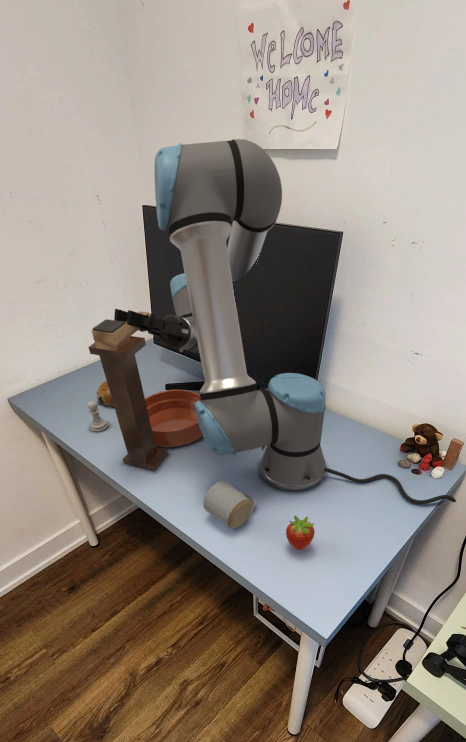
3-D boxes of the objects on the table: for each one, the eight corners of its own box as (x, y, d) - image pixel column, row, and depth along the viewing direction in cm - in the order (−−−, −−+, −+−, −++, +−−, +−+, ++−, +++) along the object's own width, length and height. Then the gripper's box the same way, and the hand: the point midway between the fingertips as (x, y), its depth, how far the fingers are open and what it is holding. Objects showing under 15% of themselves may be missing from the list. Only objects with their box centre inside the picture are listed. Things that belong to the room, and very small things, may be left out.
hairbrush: (155, 321, 92) (152, 302, 89) (117, 351, 82) (112, 331, 80) (136, 318, 94) (132, 300, 91) (96, 348, 84) (90, 328, 81)
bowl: (222, 413, 120) (220, 396, 116) (190, 455, 107) (187, 438, 103) (160, 401, 126) (157, 384, 122) (123, 440, 113) (118, 423, 109)
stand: (168, 454, 108) (144, 337, 86) (154, 471, 103) (126, 352, 82) (138, 447, 111) (108, 332, 89) (123, 463, 106) (88, 347, 85)
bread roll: (125, 417, 127) (131, 396, 122) (91, 406, 124) (95, 383, 119) (132, 400, 134) (137, 379, 129) (99, 388, 131) (104, 366, 126)
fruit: (291, 560, 82) (293, 533, 77) (281, 540, 86) (283, 513, 80) (316, 552, 83) (320, 526, 78) (306, 534, 87) (309, 507, 81)
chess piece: (87, 430, 117) (78, 405, 112) (97, 421, 120) (88, 396, 115) (102, 433, 116) (93, 408, 110) (111, 423, 119) (103, 398, 113)
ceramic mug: (230, 536, 87) (229, 511, 82) (204, 517, 91) (200, 491, 86) (264, 510, 92) (265, 484, 87) (238, 492, 97) (237, 466, 91)
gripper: (203, 352, 105) (153, 341, 84) (150, 344, 110) (90, 332, 89) (207, 320, 103) (157, 300, 82) (152, 313, 108) (91, 293, 86)
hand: (122, 316), depth 85 cm, fingers closed on hairbrush, 2 cm apart
